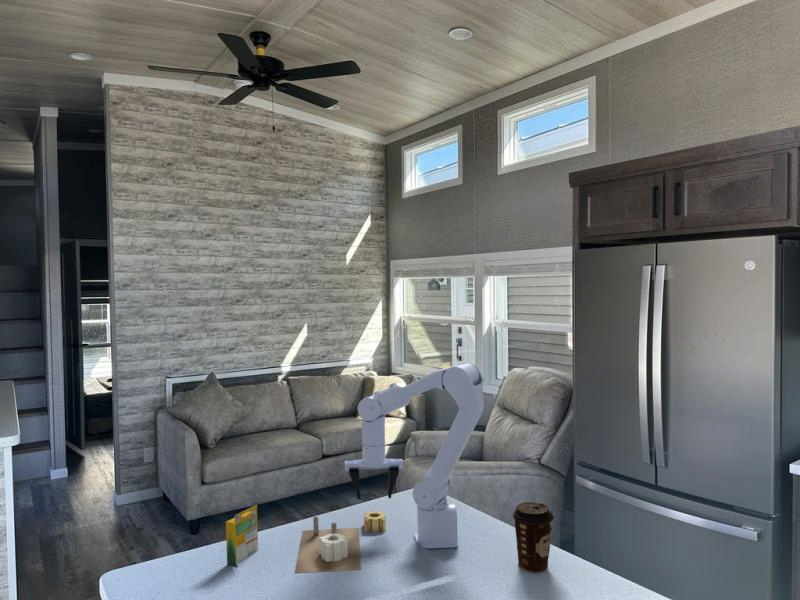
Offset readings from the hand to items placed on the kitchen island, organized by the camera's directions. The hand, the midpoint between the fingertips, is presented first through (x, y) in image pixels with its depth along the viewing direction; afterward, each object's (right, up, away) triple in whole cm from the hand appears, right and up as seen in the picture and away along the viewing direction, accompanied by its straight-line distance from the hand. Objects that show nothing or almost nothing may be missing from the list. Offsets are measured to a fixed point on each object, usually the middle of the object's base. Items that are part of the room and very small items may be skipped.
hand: (374, 497), depth 148 cm
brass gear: (0, -9, 0) cm, 9 cm away
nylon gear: (-9, -8, -16) cm, 19 cm away
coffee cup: (+36, -9, -20) cm, 42 cm away
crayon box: (-29, -9, -14) cm, 34 cm away
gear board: (-10, -9, -12) cm, 18 cm away
